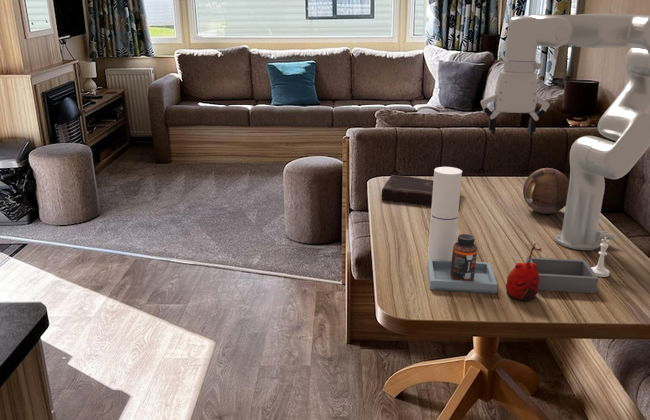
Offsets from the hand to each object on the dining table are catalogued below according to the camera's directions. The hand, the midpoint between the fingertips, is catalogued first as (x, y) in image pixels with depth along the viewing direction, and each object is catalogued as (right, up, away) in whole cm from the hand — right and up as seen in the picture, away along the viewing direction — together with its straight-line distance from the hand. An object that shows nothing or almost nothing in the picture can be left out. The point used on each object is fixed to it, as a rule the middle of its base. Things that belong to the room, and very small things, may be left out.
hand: (511, 133), depth 166 cm
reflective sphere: (+24, -21, +45) cm, 56 cm away
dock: (+11, -38, -5) cm, 40 cm away
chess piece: (+23, -37, +1) cm, 43 cm away
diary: (-15, -16, +59) cm, 63 cm away
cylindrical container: (-17, -33, +8) cm, 38 cm away
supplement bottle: (-14, -37, -5) cm, 40 cm away
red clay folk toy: (-1, -41, -13) cm, 43 cm away
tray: (-14, -38, -5) cm, 41 cm away
